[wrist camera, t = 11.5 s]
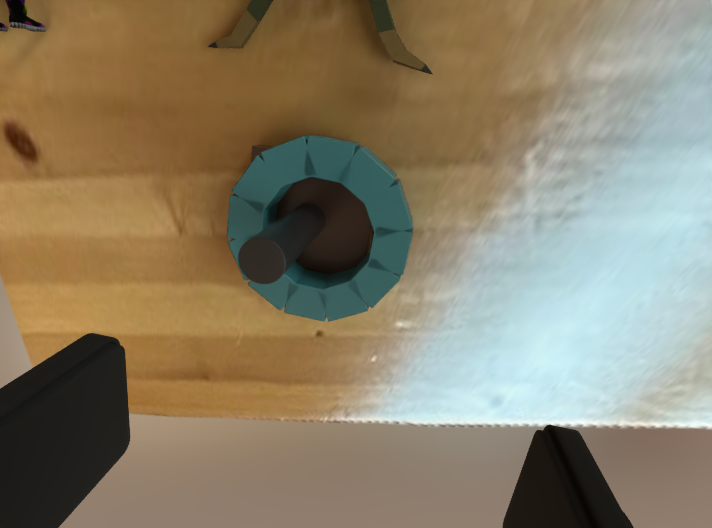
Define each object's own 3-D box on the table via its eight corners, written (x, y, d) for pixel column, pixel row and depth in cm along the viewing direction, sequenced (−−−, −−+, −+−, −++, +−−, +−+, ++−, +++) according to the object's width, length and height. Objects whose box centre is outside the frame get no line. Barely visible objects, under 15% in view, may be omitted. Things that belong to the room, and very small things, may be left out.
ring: (428, 156, 27) (430, 159, 24) (390, 317, 31) (388, 336, 28) (253, 122, 28) (235, 121, 25) (238, 284, 31) (221, 299, 29)
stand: (382, 163, 29) (366, 183, 18) (363, 281, 32) (340, 358, 21) (259, 145, 29) (172, 152, 19) (252, 261, 32) (173, 327, 22)
